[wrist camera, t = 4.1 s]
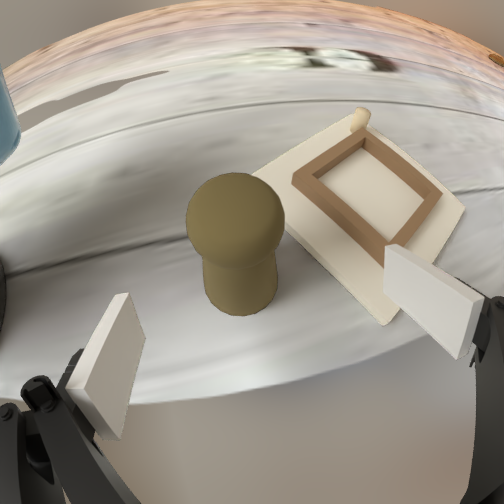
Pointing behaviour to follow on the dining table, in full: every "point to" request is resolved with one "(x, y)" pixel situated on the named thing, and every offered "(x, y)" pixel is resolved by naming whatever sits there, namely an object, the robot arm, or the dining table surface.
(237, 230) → the cork
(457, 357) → the robot arm
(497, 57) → the pastry
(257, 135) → the dining table surface
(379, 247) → the seat board
